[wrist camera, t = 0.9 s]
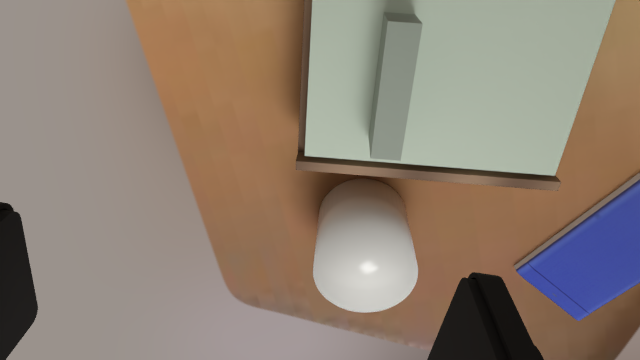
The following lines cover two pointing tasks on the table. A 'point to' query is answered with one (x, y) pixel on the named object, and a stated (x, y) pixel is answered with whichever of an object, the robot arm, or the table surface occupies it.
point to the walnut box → (396, 168)
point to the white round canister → (364, 247)
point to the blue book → (591, 255)
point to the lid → (450, 80)
